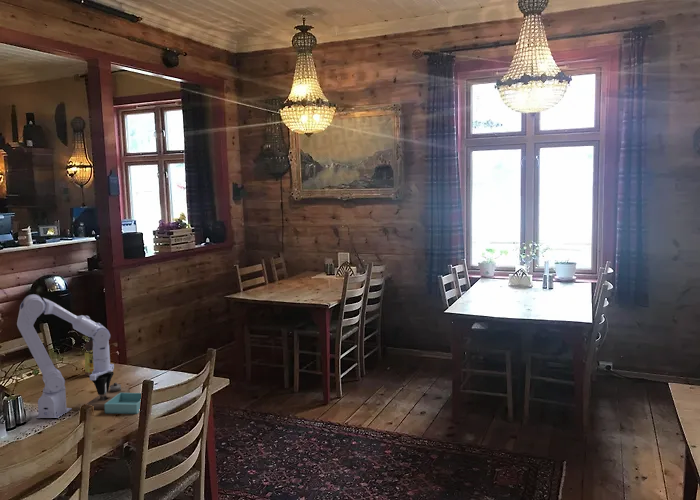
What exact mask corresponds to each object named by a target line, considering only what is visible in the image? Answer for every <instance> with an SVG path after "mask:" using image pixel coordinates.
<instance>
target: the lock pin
mask: <svg viewBox="0 0 700 500" xmlns="http://www.w3.org/2000/svg"><path fill="white" fill-rule="evenodd" d="M105 400H107V389H106V384H105V393H104V395H100V401H105Z"/></svg>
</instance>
